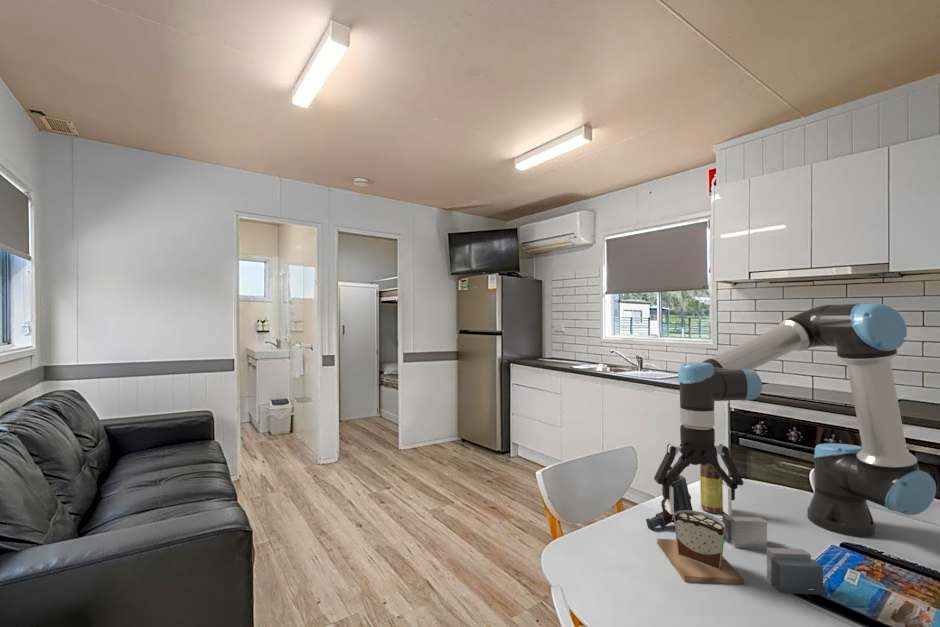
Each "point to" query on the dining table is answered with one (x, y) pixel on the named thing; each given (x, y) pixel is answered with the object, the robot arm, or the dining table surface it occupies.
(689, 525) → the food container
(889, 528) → the dining table surface
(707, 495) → the sauce bottle
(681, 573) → the light brown board
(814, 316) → the robot arm
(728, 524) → the grey blocks
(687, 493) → the gun
